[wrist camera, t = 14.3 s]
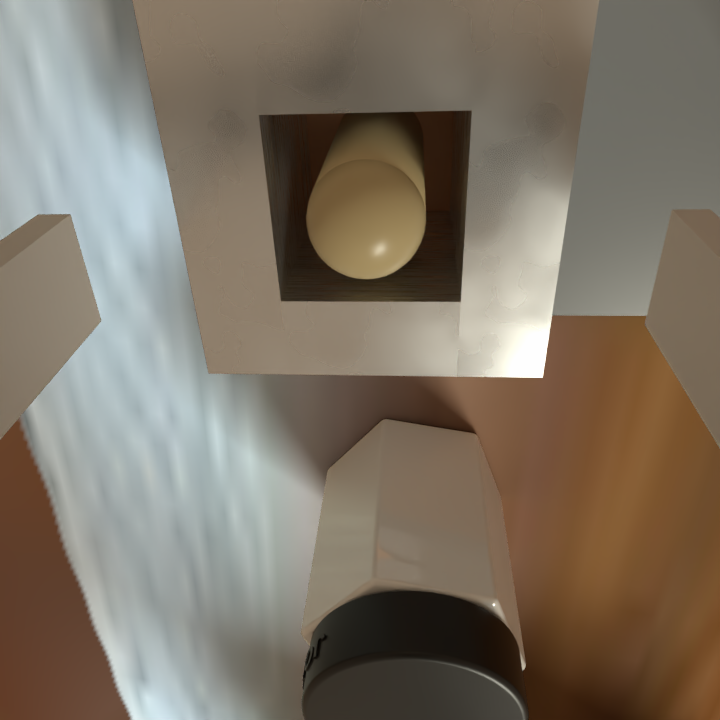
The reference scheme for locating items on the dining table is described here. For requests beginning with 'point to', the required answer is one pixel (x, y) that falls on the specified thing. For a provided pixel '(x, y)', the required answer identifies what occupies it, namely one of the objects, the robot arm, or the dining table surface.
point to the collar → (294, 184)
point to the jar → (412, 585)
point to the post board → (591, 170)
